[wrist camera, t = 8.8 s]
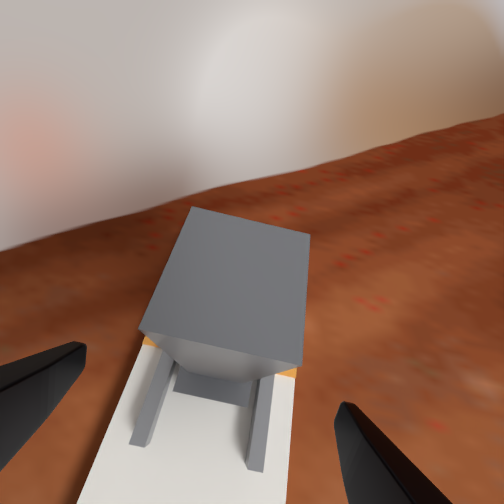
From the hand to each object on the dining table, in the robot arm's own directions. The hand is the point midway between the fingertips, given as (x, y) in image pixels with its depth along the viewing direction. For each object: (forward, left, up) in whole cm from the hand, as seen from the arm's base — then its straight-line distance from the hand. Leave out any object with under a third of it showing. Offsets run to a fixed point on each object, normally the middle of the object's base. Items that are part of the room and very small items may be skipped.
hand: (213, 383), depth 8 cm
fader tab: (0, +2, -7) cm, 7 cm away
